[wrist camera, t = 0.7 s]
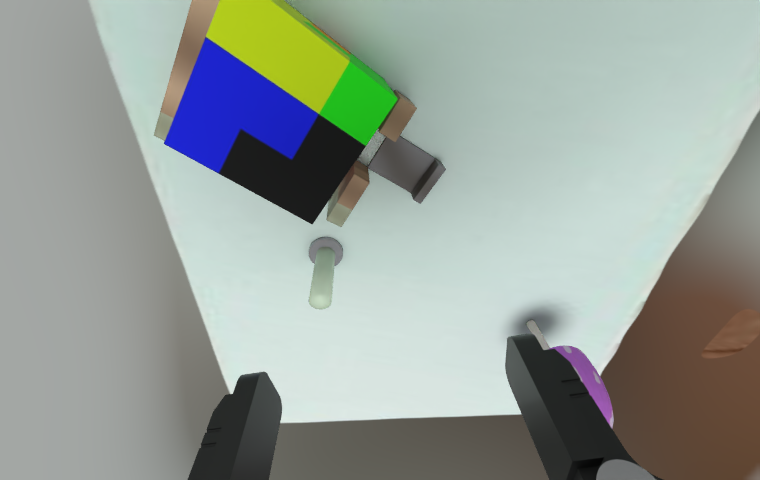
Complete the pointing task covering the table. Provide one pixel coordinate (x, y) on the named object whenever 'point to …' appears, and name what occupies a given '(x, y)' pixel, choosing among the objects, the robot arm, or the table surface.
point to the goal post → (323, 270)
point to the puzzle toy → (278, 105)
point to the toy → (581, 372)
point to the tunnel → (390, 161)
